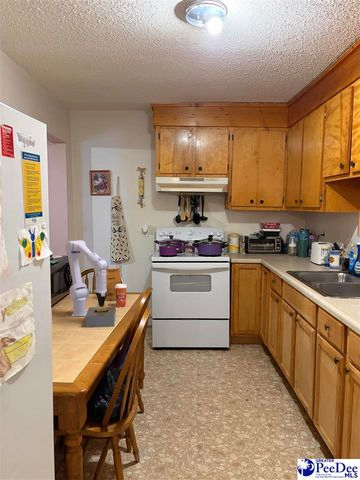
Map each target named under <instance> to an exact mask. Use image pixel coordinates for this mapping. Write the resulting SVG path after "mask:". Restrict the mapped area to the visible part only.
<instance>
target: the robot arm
mask: <svg viewBox="0 0 360 480" xmlns="http://www.w3.org/2000/svg"><path fill="white" fill-rule="evenodd" d="M65 252H66V256H68V257H67V258H68V264H69V268H70V275H71V279H72V285H71V286H70V288H69V298H70V299H71V301H72V314H71V317H85V316H86V314H87V312H88V310H87V309H86V306H87V303H86V300H87V298H88V297H89V295H90V294H89V292H90V291H89V289H88V288H87V284H85V283H84V282H83V279H82V273H81V269H80V264H79V258H78V257H79V255H81V254H83V255H85V256H86V260H87V261H88V262H89V263H90V264H91V265H92V267H93V271H94V274H95V289H93V292H94V293H95V296H96V298H97V302H98V303H97V304H99V306H100V307H104V303H106V301H105V299H106V297H107V294H106V291H107V289H106V270H107V269H109V262H108V260H107V259H103V258H102V257H100V256H99V255H98V254H97V253H96V252H93V251H91V250H90V249H89V248H88V247H87V243H86V242H85V241H84V240H82V239H79V240H68V241H67V242H66V244H65Z"/></svg>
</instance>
